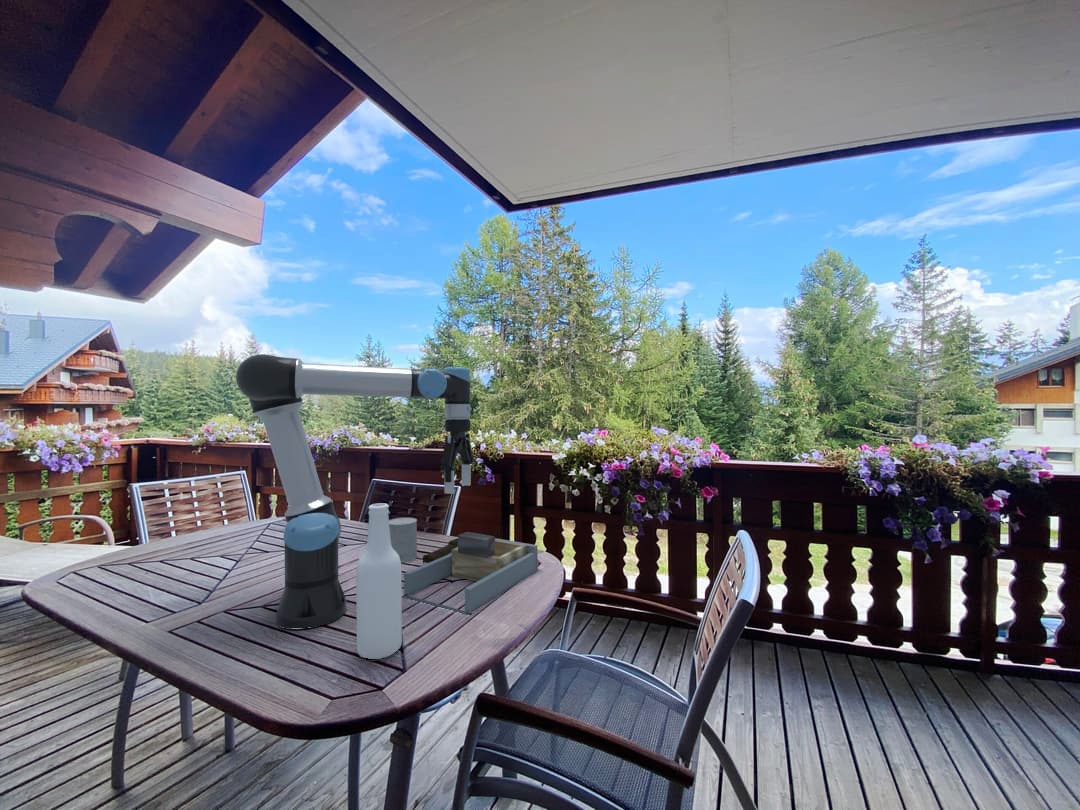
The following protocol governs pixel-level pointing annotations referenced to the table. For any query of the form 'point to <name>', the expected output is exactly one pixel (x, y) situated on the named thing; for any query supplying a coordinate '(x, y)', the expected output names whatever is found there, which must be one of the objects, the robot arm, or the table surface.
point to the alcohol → (379, 590)
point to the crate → (483, 555)
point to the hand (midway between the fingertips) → (458, 489)
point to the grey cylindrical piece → (404, 537)
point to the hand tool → (441, 551)
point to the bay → (479, 589)
